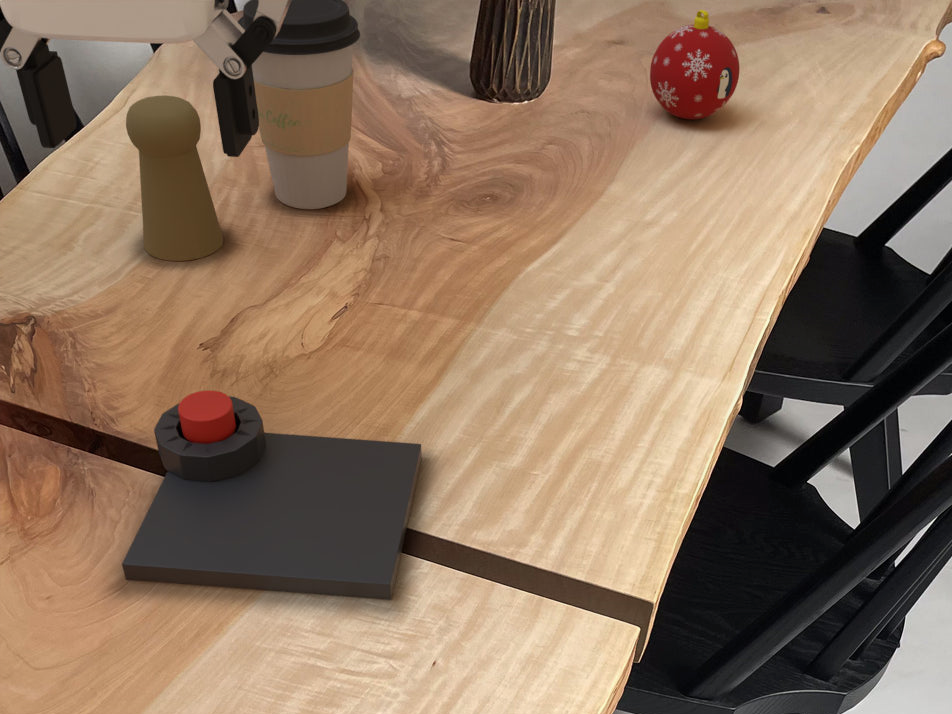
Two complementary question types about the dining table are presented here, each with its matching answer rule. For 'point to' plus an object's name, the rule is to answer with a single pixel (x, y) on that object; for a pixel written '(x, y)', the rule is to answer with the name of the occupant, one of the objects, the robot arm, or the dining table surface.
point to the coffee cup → (307, 100)
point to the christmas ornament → (694, 70)
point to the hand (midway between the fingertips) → (149, 142)
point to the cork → (172, 180)
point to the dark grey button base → (276, 511)
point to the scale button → (207, 417)
